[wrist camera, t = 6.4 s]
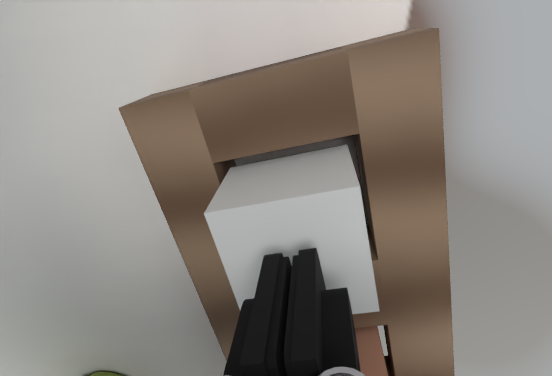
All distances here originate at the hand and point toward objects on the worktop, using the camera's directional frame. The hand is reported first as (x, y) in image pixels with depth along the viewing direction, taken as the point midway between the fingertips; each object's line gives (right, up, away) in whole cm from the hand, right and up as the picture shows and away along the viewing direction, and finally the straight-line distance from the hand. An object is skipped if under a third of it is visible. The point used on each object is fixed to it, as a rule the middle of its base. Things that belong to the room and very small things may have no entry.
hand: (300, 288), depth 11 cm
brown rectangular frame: (+2, -1, +8) cm, 9 cm away
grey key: (0, +2, +4) cm, 5 cm away
